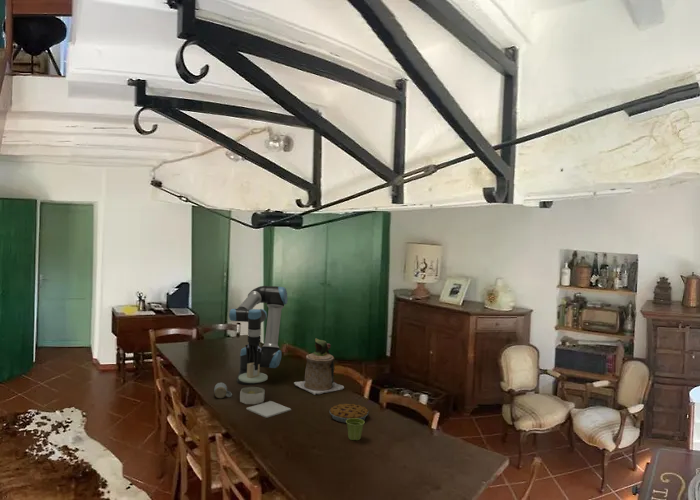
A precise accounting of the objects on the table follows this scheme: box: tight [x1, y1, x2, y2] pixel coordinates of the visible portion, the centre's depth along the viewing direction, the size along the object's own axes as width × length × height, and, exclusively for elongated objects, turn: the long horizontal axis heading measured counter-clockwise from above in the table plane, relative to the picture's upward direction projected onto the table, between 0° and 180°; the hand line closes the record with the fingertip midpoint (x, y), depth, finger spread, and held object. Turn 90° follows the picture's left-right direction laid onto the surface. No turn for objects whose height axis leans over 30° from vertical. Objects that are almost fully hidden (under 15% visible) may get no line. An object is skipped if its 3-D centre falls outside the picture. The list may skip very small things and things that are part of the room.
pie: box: [329, 403, 369, 424], centre depth 304 cm, size 22×22×5 cm
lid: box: [239, 362, 269, 384], centre depth 325 cm, size 17×17×9 cm
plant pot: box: [346, 418, 366, 441], centre depth 275 cm, size 9×9×9 cm
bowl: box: [239, 386, 266, 405], centre depth 325 cm, size 14×14×6 cm
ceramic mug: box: [213, 382, 233, 399], centre depth 329 cm, size 11×8×8 cm
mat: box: [246, 400, 292, 419], centre depth 310 cm, size 18×18×1 cm
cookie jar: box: [293, 338, 345, 396], centre depth 354 cm, size 25×25×32 cm
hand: (253, 374), depth 325 cm, fingers closed on lid, 3 cm apart
